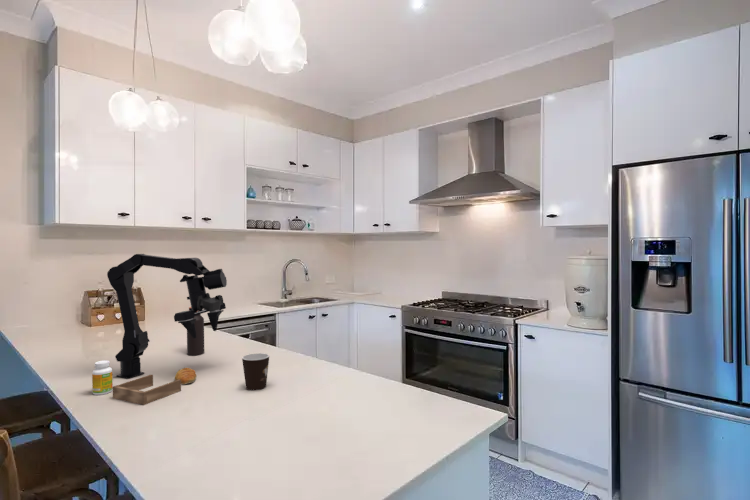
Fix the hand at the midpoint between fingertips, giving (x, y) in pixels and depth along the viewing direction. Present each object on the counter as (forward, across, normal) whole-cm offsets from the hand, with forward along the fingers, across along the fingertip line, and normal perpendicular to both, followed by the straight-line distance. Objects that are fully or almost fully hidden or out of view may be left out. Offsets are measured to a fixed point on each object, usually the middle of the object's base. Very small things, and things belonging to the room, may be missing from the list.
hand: (205, 334), depth 152 cm
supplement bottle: (+10, -28, +17) cm, 35 cm away
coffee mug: (+18, -3, -24) cm, 30 cm away
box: (+12, -23, +2) cm, 26 cm away
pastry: (+14, -9, +3) cm, 17 cm away
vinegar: (+12, +17, +28) cm, 35 cm away
